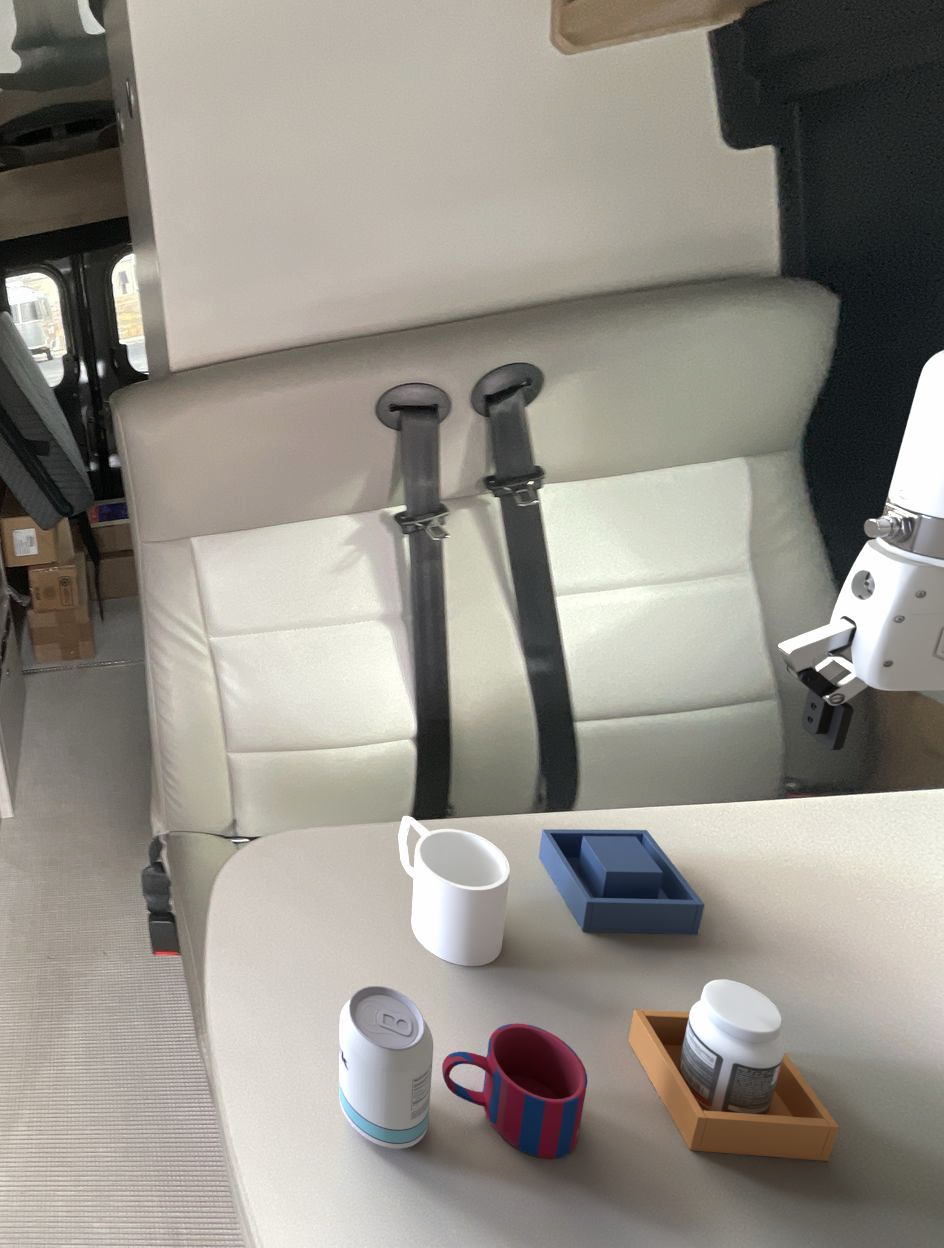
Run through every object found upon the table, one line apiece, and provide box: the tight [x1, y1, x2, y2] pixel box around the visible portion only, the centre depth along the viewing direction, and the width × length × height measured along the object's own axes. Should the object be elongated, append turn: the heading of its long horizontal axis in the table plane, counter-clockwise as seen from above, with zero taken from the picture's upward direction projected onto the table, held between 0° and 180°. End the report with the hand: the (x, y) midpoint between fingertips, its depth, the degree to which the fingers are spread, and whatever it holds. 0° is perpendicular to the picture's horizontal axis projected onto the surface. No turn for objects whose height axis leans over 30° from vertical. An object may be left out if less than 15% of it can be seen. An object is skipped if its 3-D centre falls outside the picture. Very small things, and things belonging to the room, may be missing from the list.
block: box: [578, 836, 663, 899], centre depth 86 cm, size 5×5×5 cm
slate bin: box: [538, 828, 705, 935], centre depth 87 cm, size 10×10×4 cm
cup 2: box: [441, 1022, 588, 1160], centre depth 69 cm, size 7×10×7 cm
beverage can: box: [338, 985, 434, 1150], centre depth 69 cm, size 7×7×12 cm
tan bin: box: [627, 1008, 840, 1162], centre depth 68 cm, size 9×9×4 cm
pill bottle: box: [678, 979, 785, 1115], centre depth 67 cm, size 6×6×10 cm
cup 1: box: [397, 815, 511, 967], centre depth 86 cm, size 8×12×10 cm
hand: (897, 738), depth 62 cm, fingers open, 9 cm apart
